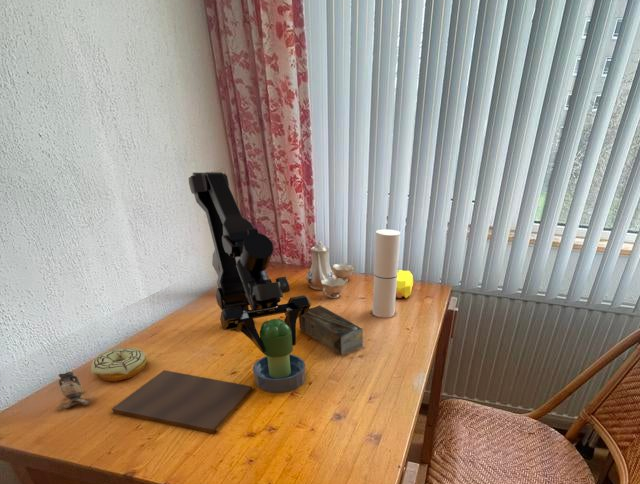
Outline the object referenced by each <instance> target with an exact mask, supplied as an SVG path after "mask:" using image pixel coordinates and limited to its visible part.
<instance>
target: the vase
mask: <svg viewBox="0 0 640 484" xmlns="http://www.w3.org/2000/svg"><path fill="white" fill-rule="evenodd" d="M58 377H59V378H60V379H59V380H58V385H59V388H60V389H59V390H60V392H61V394H62V396H64V398H66V399H68V400H69V403H68V404H62V405H60V406H59V407H58V410H59V411H61V410H62V409H65V408H66V409H67V408H69V409H70V408H71V407H72V405H75V404H77V403H81V404H82V405H84V406H86V405H88V404H89V403H90V400H88V398H86V399H84V398H82V397H81V396H82V394H83V390H84V389H83V386H82V384H81V383H80V381H79V377H78V376H77V375H74V372H73V371H67V372H65V373H59V374H58Z"/></svg>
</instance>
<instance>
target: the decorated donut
mask: <svg viewBox="0 0 640 484" xmlns="http://www.w3.org/2000/svg"><path fill="white" fill-rule="evenodd" d="M147 361H148V358H147V355H146V353H145V352H144V350H141V349H139V348H134V347H121V348H120V347H119V348H113V349H109V350H107V351H104V352H102V353H100V354H97V356H96V357H95V358H94V359H93V360H92V362H91V366H90V372H91V374H93V375H94V376H95V375H96V376H97V377H98V378H99V379H101V380H103V381H107V382H114V383H115V382H118V381H123V380H127V379H129V378H132V377H134V376H136V375H137V374H138V373H140V372H142V371H143V370H144V369H145V368H146V365H147Z"/></svg>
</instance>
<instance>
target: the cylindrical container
mask: <svg viewBox="0 0 640 484" xmlns="http://www.w3.org/2000/svg"><path fill="white" fill-rule="evenodd" d="M401 235H402V233H401V231H399V230H396V229H389V228H384V229H376V230H375V241H374V242H375V243H374V265H373V266H374V267H373V287H372V288H373V289H372V311H371V312H372V313H371V314H372V315H373V316H375V317H377V318H383V319H385V318H391V317H393V316H395V310H396V298H397V297H396V286H397V273H398V271H399V258H400V245H401Z"/></svg>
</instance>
